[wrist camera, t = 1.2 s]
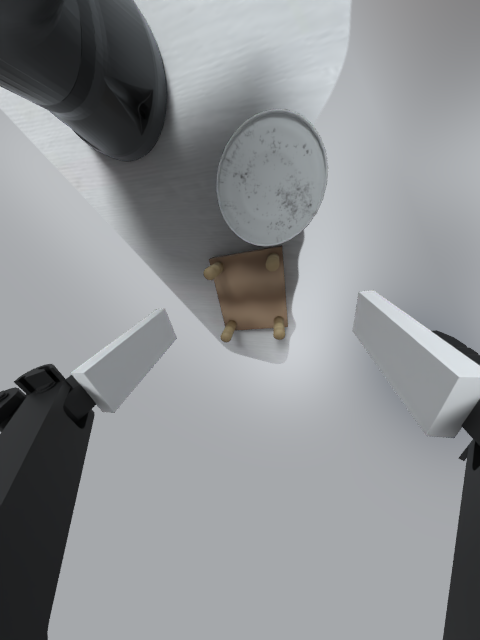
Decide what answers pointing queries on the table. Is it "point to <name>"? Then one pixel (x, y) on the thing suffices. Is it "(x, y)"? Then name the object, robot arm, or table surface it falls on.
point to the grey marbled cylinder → (272, 177)
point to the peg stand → (250, 290)
